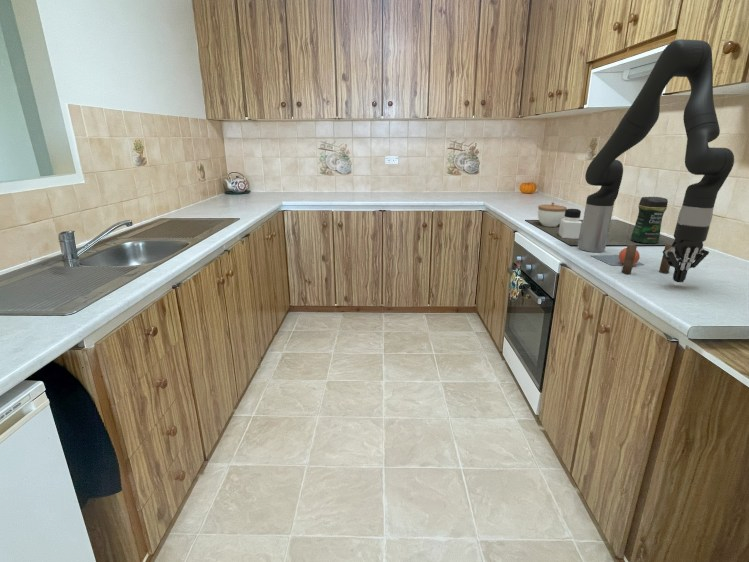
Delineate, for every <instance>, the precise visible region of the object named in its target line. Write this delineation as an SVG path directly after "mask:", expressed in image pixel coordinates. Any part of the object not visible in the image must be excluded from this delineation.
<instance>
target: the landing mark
mask: <svg viewBox="0 0 749 562" xmlns="http://www.w3.org/2000/svg"><path fill="white" fill-rule="evenodd" d="M590 257H592V258H594V259H597V260H599V261H601V262H604V263H606V264H607V265H609V266H611V265H612V267H613V265H619V266H623V263H621V261H620V260H619V254H607V255H606V254H605V255H602V254H597V255H590ZM633 266H645V263H643V262H640V261H639V260H638V261H637V262H636V263H635V264H633Z"/></svg>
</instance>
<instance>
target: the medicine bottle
mask: <svg viewBox="0 0 749 562" xmlns="http://www.w3.org/2000/svg"><path fill="white" fill-rule="evenodd" d="M581 213H582V211H581V210H580V209H578V208H567V209H566V210H565V216H564V219H561V221H560V224H559V229H558V235H559V237H561V238H562V239H571V240H573V239H575V240H579V234H580V228H581V223H582V222H583V221H581V220H580V218H581Z"/></svg>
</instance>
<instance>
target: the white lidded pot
mask: <svg viewBox="0 0 749 562" xmlns="http://www.w3.org/2000/svg"><path fill="white" fill-rule="evenodd" d="M566 209H568V208H567V207H566V206H564V205H560V204H559V205H558V204H555V202H554V201H553V202H551V204H539V205H538V210H537V218H538V222H540V224H541V226H543V227H549V228H556V227H558V226H560V221H561V219H565V218H564V216H565V210H566Z"/></svg>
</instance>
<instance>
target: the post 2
mask: <svg viewBox="0 0 749 562" xmlns="http://www.w3.org/2000/svg"><path fill="white" fill-rule="evenodd" d="M672 244H673V243H672ZM672 244H671V243H666V244H665V246H664V249H663V250H668V249H670V248H671V247H672ZM670 269H671V266H669V264H668V262H667V260H666V258H665V256H664V254H663V253H662V258H661V262H660V266H659V270H658V272H659V273H662V274H669V272H670Z"/></svg>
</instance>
